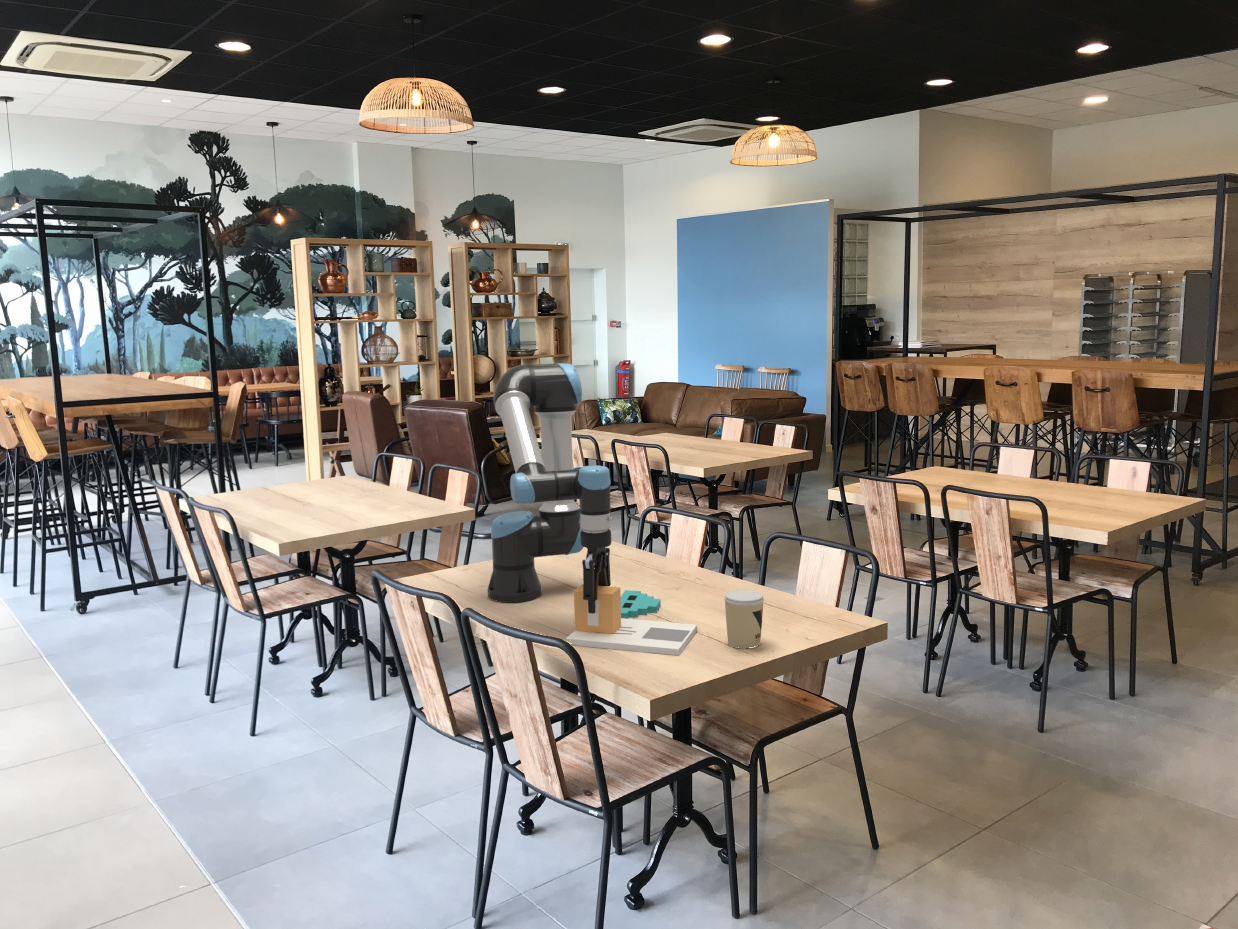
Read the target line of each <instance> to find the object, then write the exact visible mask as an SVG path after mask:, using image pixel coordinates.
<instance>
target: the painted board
mask: <svg viewBox="0 0 1238 929" xmlns="http://www.w3.org/2000/svg"><path fill="white" fill-rule="evenodd" d="M697 632H698V624H691V623H679V622H672V621H671V622H669V621H657V620H648V619H647V620H646V619H635V618H628V619H625V618H621V627H620V628H619V629H618V630H617V631H616V632H615V633H614V634H609V633H598V632H587V631H576V630H574V631H572V632H571V634H569V635H568V636H567V637H566V638H565V642H566V641H568V642H570V643H572V644H573V645H572V646H577V647H589V648H597V649H598V648H599V649H610V650H618V651H619V650H621V651H627V652H629V651H631V652H640V653H648V654H657V655H658V654H660V655H668V656H669V655H670V656H680V655H681V653H682V651H683V650H684V649H685V648H686V646H687V645H688V643H689V642H690V641H691V640H692V638H693V637H694V636H695V635H696V633H697Z"/></svg>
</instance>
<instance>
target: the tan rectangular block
mask: <svg viewBox="0 0 1238 929" xmlns="http://www.w3.org/2000/svg"><path fill="white" fill-rule="evenodd" d="M621 595H622V594H621V587H620V586H619V587H618V586H598V590H597V599H599V626H592V625H588V616H587V600H583V584H581V585H580V586H579V587H578V588H576V589H575V590H573V603H574V604H573V606H574V629H575V630H576V631H587V632H598V633H609V634H614V633H615V632H616V631H617V630H618V629H619V628H620V627H621ZM575 630H574V631H575Z"/></svg>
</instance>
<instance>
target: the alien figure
mask: <svg viewBox="0 0 1238 929" xmlns="http://www.w3.org/2000/svg"><path fill="white" fill-rule="evenodd" d="M620 595H621V618H625V619H629V618H638V617H639V616H648V614H657V613H658V611H659V609H660V608H661V598H655V597H654V596H653V595H648V593H645V592H643V593H642V592H641V590H627V589H625V590H624V591H623V592H622V593H621V594H620Z"/></svg>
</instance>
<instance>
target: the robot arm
mask: <svg viewBox="0 0 1238 929" xmlns="http://www.w3.org/2000/svg"><path fill="white" fill-rule="evenodd" d="M582 401H583V388H582V382H581V379H580V376H579V373H578V370H577V369H576V367H575V366H574V365H573V364H571V363H562V362H561V363H559V362H556V363H540V364H539V363H536V364H519V365H515V366H513V367H512V368H509V369H508V370H507V371H506V372H504V373H503V374H502V375H501V377H500V378H499V380H498V382H497V383H496V386H495V388H494V391H493V405H494V409H495V412H496V413H497V414H498V416H499V417H501V421H502V425H503V429H504V433H505V437H506V441H507V444H508V448H509V452H510V456H511V460H512V464H513V468H514V471H515V473H512V475H511V476H510V481H509V483H510V484H509V487H510V496H511V500H512V501H513V503H515V504H534V503H542V505H540V507H539V508H538V514H539V515H535V516H534V514H533V512H531V511H530V510H515V511H510V512H506V513H504V514H501V515H498V516H497V517H495V518H493V520H492V521H491V528H490V529H491V531H490V533H491V534H490V538H491V548H492V549H491V551H492V554H491V555H492V572H491V576H490V579H489V583H488V586H487V597H488V599H490V598H491V599H493V600H492V601H494V600H497V601H496V602H498V601H501V603H521V602H528V601H532V600H536V599H537V598H540V597H541V596H542V584H541V581H540V578H539V576H538V574H537V570H536V568H535V567H536V566H535V558H541V557H551V556H552V557H553V556H563V555H564V556H568V555H572V554H573V555H574V554H577V553H580V552H581V551H582V550H583V549H584V548H586V549H587V550H586V551H587V552H586V557H585V559H582V562H581V564H582V579H583V580H582V585H583V600H587V616H588V625H592V626H599V599H597V590H598V586H609V587H611V585H612V583H611V565H610V564H611V563H610V554H611V548H609V546H611V545H612V531H611V527H612V524H611V522H612V521H613V517H612V516H611V476H610V475H611V474H610V469H609V468H608V467H607V466H604V465H603V466H602V465H597V464H596V465H585V466H575V467H573V466H574V464H573V462H574V460H573V442H572V441H573V438H572V437H573V436H572V433H573V432H572V417H573V415H574V414H575V413H576V412H577V406H578V405H581V403H582ZM531 407H532V408H534V414H535V415H536V416H537V417H538V418H539V420H540V438H541V442H540V443H541V448H540V445H539V442H538V438H537V435H536V431H535V428H534V427H535V426H534V425H533V421H532V417H531V413H530V410H529V409H530V408H531ZM575 500H578V501H579V505H578V503H576V502H575ZM491 599H490V600H491Z"/></svg>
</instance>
